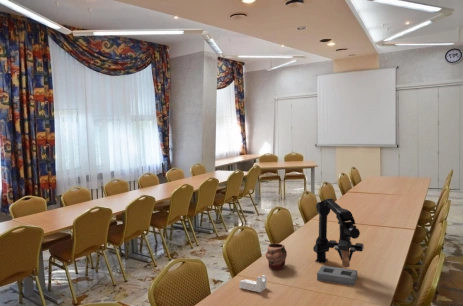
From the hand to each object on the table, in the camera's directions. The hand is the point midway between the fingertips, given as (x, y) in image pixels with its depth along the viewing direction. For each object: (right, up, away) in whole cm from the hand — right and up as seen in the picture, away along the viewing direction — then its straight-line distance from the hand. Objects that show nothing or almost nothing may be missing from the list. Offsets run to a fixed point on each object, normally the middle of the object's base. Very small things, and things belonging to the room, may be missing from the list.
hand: (345, 260), depth 197 cm
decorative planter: (-35, -12, +25) cm, 45 cm away
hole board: (-4, -11, +3) cm, 12 cm away
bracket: (-52, -15, -3) cm, 54 cm away
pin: (0, -3, 0) cm, 3 cm away
